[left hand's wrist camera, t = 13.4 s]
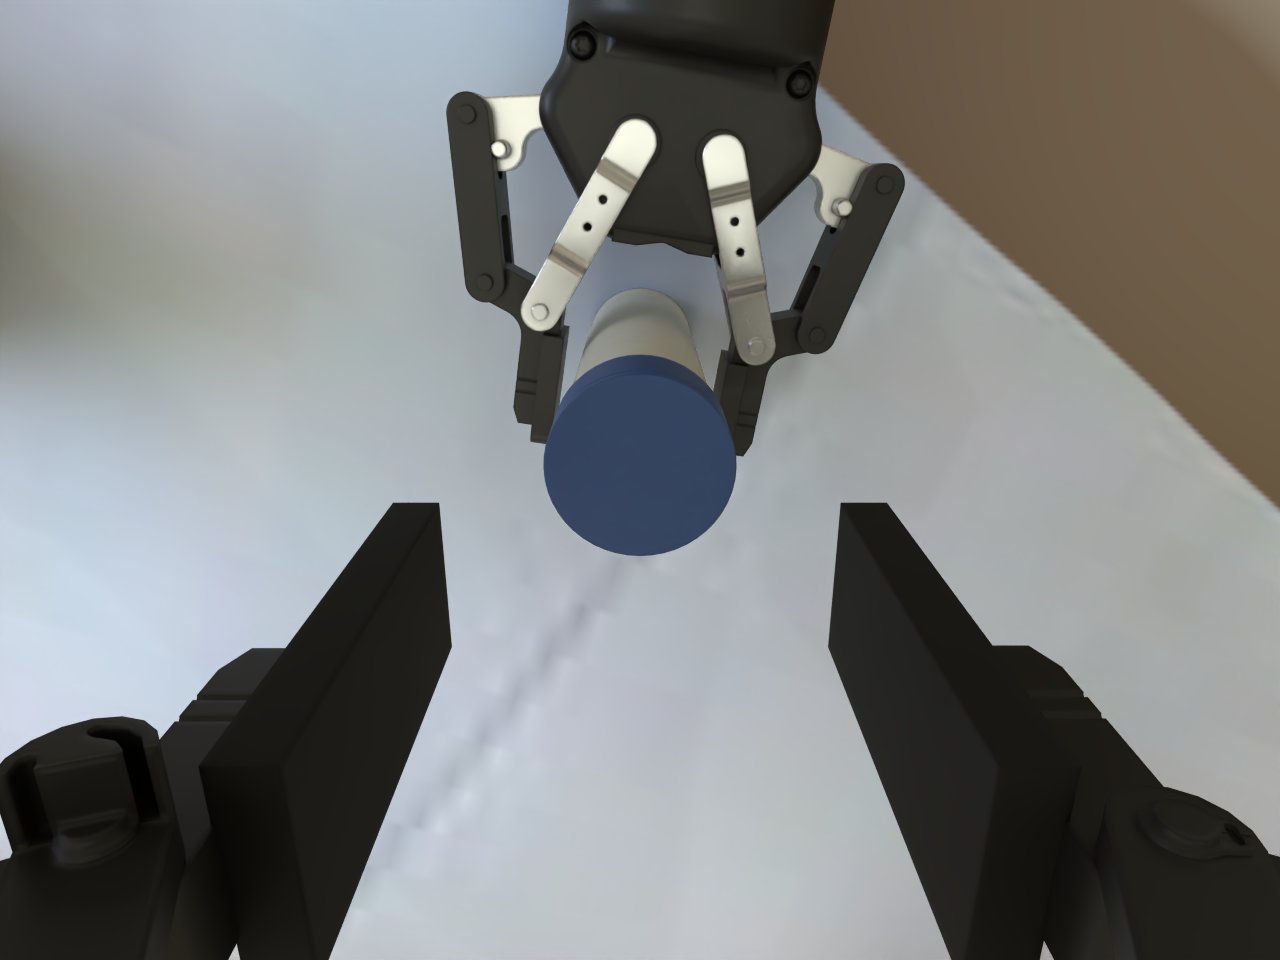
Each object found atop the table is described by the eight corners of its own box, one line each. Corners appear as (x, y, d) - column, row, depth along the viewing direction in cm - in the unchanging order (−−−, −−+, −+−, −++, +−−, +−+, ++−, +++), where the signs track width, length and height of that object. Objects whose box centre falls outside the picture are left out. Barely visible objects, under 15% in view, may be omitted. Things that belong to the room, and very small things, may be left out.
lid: (758, 470, 22) (770, 501, 20) (609, 549, 23) (606, 587, 20) (673, 320, 20) (677, 337, 18) (518, 409, 21) (505, 435, 19)
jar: (707, 357, 35) (756, 492, 20) (621, 405, 35) (609, 569, 21) (658, 268, 33) (673, 345, 19) (571, 320, 34) (520, 432, 20)
